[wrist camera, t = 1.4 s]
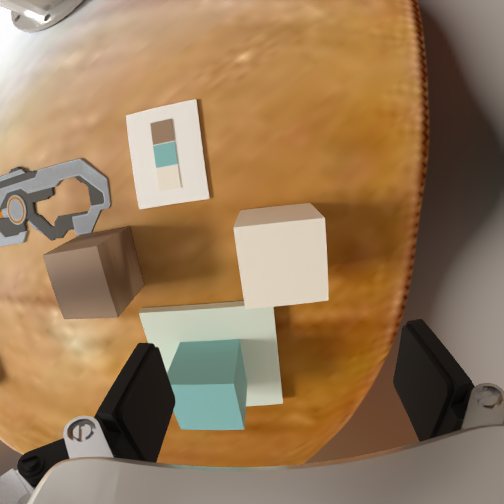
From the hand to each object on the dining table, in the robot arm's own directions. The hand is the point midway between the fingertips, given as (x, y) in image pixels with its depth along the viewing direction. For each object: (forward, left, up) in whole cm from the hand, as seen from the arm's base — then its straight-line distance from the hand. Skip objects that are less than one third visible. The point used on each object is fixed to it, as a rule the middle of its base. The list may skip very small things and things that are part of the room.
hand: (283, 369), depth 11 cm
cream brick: (-1, +1, -15) cm, 15 cm away
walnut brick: (-1, -14, -15) cm, 21 cm away
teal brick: (+10, -6, -14) cm, 18 cm away
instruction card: (-9, -7, -15) cm, 19 cm away
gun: (-9, -33, -16) cm, 37 cm away
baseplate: (+10, -6, -15) cm, 19 cm away
